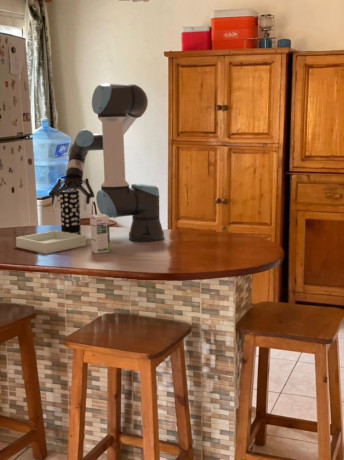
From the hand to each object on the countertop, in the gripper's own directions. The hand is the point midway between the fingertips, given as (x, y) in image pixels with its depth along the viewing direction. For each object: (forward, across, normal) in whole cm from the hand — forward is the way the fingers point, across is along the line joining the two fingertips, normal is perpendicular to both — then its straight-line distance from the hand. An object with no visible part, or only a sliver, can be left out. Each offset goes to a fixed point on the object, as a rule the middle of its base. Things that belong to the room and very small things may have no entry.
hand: (69, 209), depth 284 cm
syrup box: (+32, -19, +15) cm, 40 cm away
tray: (+24, +3, +8) cm, 26 cm away
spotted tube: (+9, 0, -8) cm, 12 cm away
